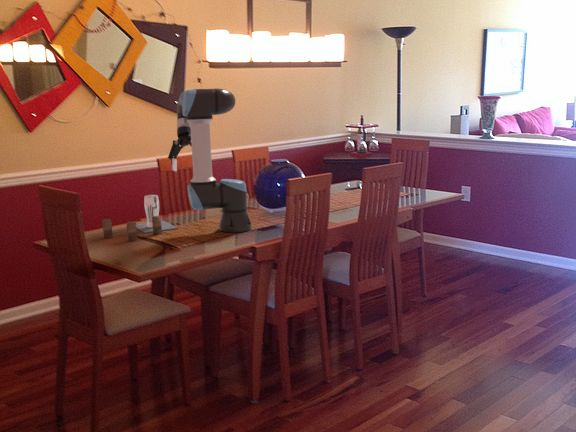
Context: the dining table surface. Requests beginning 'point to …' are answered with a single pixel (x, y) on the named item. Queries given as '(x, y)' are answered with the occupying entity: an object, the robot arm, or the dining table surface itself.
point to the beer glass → (151, 208)
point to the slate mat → (149, 230)
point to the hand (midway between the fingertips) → (184, 167)
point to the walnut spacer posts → (131, 228)
